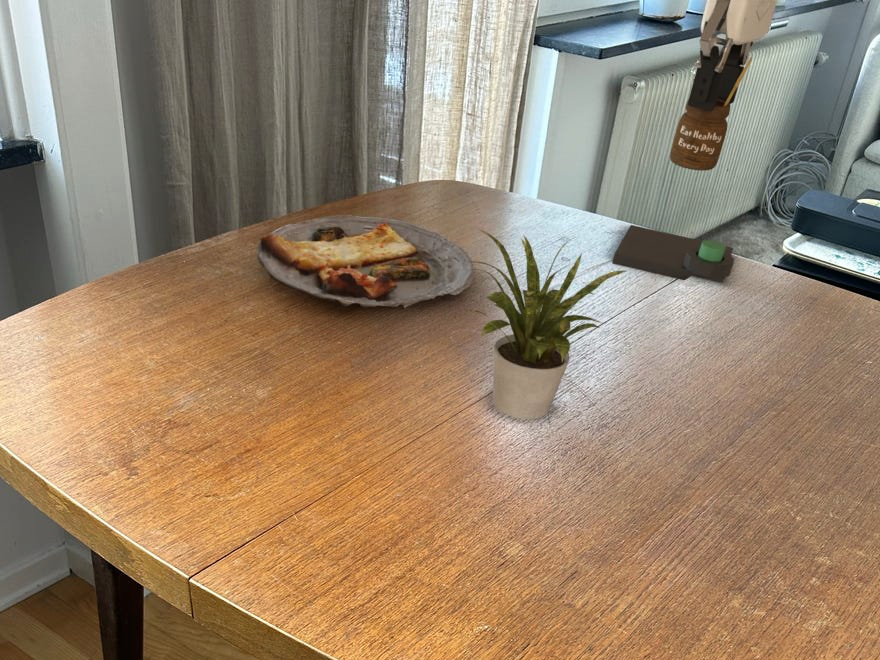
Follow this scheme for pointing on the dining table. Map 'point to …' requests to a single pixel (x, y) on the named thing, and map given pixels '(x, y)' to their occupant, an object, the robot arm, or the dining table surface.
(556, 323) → the house plant
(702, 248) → the button
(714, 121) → the utensil holder
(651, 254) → the green push button base
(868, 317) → the dining table surface
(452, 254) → the food plate
